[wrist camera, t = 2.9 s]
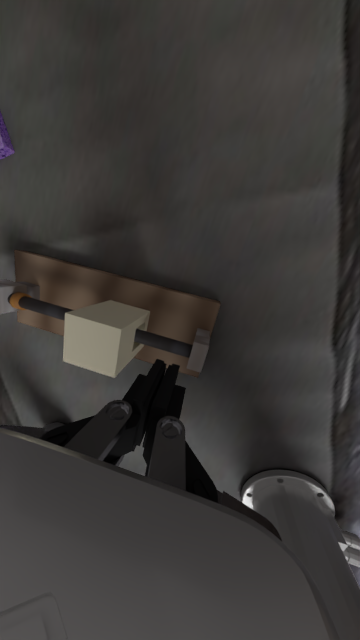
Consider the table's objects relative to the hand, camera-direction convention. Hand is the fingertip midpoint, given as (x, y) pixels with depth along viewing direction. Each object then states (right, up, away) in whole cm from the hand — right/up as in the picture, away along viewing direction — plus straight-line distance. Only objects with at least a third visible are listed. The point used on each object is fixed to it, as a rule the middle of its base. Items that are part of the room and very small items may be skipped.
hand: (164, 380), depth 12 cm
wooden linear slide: (-8, +5, +12) cm, 16 cm away
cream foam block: (-5, +4, +9) cm, 11 cm away
